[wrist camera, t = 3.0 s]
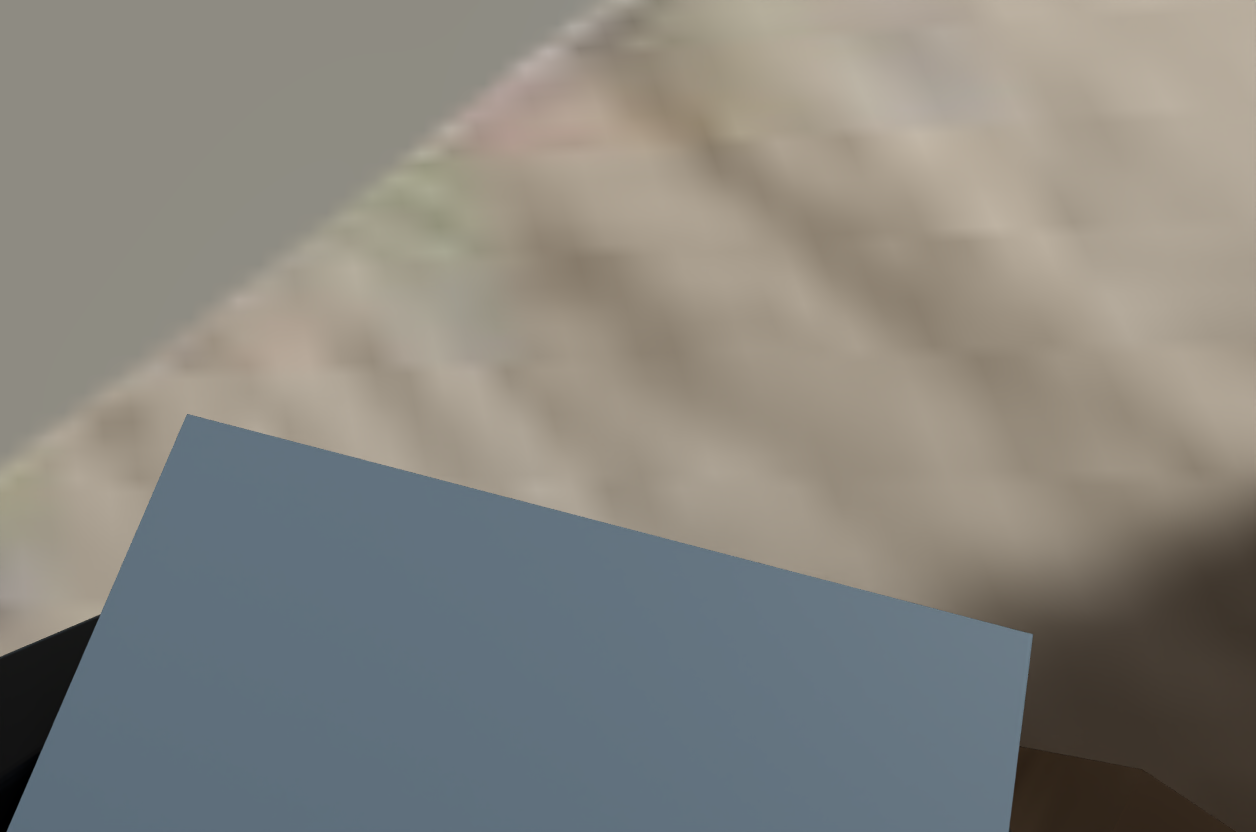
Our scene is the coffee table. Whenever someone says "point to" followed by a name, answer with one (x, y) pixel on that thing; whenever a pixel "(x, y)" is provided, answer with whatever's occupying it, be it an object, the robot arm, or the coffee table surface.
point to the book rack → (1098, 798)
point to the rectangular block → (500, 673)
